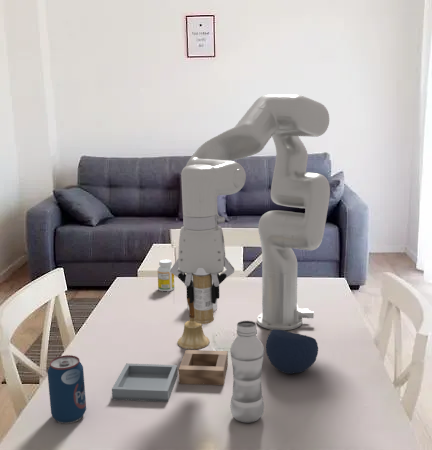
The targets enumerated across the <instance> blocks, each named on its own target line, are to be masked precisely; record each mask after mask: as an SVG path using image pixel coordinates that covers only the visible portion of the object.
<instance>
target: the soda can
mask: <svg viewBox="0 0 432 450" xmlns="http://www.w3.org/2000/svg"><path fill="white" fill-rule="evenodd" d="M84 374H85V373H84V366H83V364H82V363H81V360H80V358H79V357H78V356H76V355H72V354H71V355H69V354H66V355H60V356H58V357H55V358H53V359H52V360H50V361H49V367H48V369H47V382H48V383H47V384H48V392H49V393H48V395H49V406H50V413H51V416H52V418H53V419H54V420H55V421H56V422H57V423H59V424H72V423H76V422H77V421H80V420H81V419H82V418H83V417H84V414H85V413H86V411H87V398H86V387H85V386H86V385H85V375H84Z"/></svg>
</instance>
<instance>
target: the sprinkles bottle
mask: <svg viewBox="0 0 432 450" xmlns="http://www.w3.org/2000/svg"><path fill="white" fill-rule="evenodd" d="M192 275H193V298H194V314H195V318H194V321H195V322H197V323H199V324H202V325H207V324H211V323H212V322H214V320H215V317H214V311H213V303H212V276H211V274H209V273H206V272H205V270H204V269H203V268H198V269H197V271H196V273H193V274H192Z"/></svg>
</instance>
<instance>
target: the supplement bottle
mask: <svg viewBox="0 0 432 450" xmlns="http://www.w3.org/2000/svg"><path fill="white" fill-rule="evenodd" d="M158 265H159V266H158V267H157V288H158V290H159V291H160V292H163V291H167V292H171V291H173V290H175V275H174V274H172V273H171V272H170V270H171V268H172V266H173V261H172V260H171V259H167V258H165V259H161V260H159V264H158Z"/></svg>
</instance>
